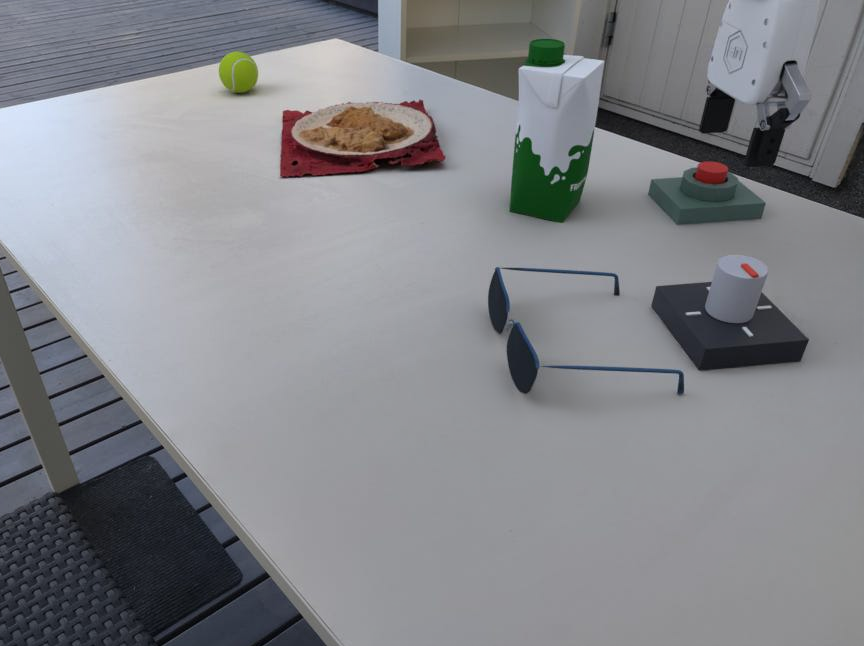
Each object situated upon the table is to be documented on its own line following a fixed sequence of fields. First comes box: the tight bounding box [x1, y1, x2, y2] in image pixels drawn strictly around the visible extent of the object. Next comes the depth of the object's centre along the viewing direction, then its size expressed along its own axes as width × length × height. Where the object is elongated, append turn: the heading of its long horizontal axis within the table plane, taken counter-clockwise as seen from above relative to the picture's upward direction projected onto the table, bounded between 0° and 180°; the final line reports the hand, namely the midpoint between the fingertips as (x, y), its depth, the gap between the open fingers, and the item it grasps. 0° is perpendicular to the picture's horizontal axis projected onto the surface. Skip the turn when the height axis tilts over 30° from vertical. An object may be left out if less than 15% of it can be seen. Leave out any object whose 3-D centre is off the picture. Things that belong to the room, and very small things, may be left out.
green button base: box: [647, 166, 767, 226], centre depth 95 cm, size 11×9×4 cm
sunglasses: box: [487, 266, 685, 395], centre depth 71 cm, size 17×15×5 cm
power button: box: [695, 161, 729, 184], centre depth 93 cm, size 4×4×2 cm
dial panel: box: [650, 281, 810, 371], centre depth 73 cm, size 10×11×3 cm
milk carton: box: [509, 38, 606, 224], centre depth 91 cm, size 9×9×20 cm
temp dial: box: [705, 254, 769, 323], centre depth 70 cm, size 4×4×5 cm
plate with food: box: [279, 98, 447, 178], centre depth 115 cm, size 24×26×4 cm
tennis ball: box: [218, 51, 259, 94], centre depth 134 cm, size 7×7×7 cm
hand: (734, 147), depth 81 cm, fingers open, 9 cm apart
